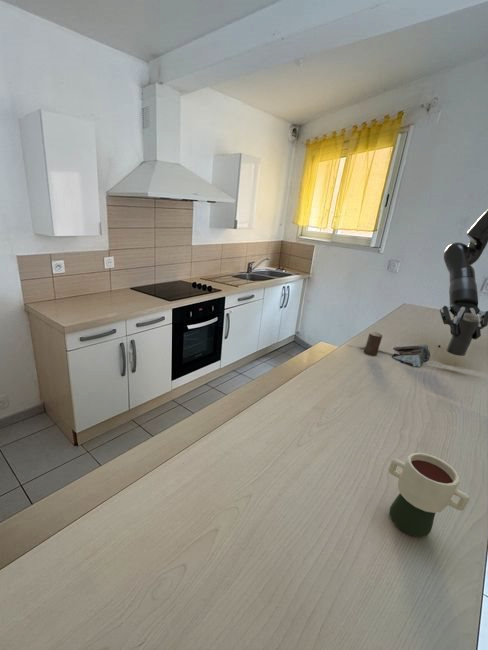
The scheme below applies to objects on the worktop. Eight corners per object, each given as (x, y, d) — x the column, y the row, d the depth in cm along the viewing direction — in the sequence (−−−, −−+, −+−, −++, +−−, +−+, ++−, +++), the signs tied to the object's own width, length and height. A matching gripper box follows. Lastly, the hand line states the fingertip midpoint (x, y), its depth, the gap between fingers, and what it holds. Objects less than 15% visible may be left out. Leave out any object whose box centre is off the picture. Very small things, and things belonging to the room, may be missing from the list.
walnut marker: (376, 352, 125) (382, 333, 122) (376, 356, 121) (382, 337, 118) (363, 349, 127) (369, 331, 124) (363, 354, 123) (369, 334, 120)
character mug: (448, 531, 56) (478, 476, 51) (440, 559, 52) (472, 502, 47) (381, 492, 63) (401, 440, 58) (368, 514, 59) (389, 459, 54)
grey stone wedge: (383, 358, 122) (414, 347, 111) (390, 348, 125) (420, 337, 115) (400, 378, 121) (432, 369, 111) (406, 367, 125) (438, 358, 114)
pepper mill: (462, 351, 113) (479, 313, 107) (466, 357, 108) (484, 318, 103) (444, 348, 115) (460, 310, 109) (448, 353, 110) (464, 315, 105)
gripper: (445, 285, 111) (447, 329, 106) (494, 290, 108) (499, 336, 102) (434, 296, 118) (435, 337, 112) (480, 301, 115) (483, 344, 109)
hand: (465, 336), depth 107 cm, fingers closed on pepper mill, 5 cm apart
